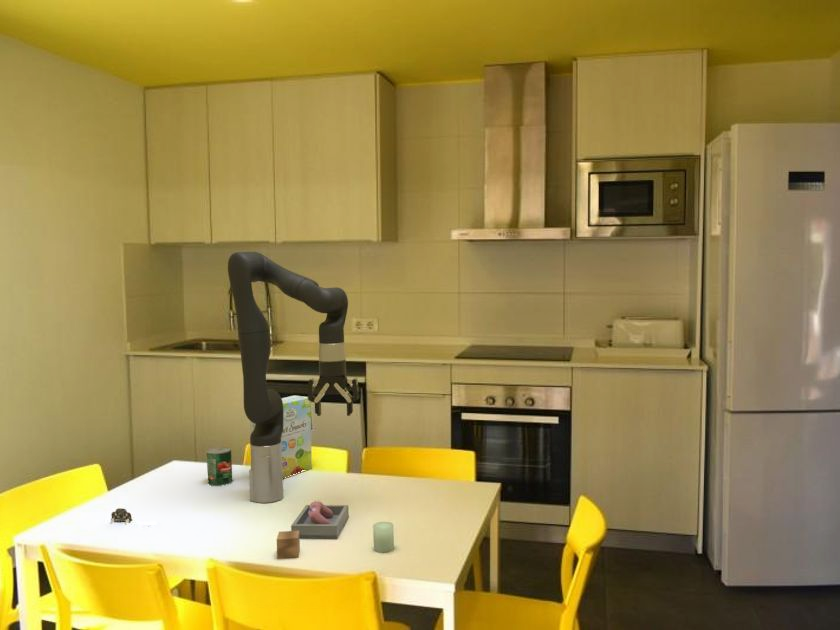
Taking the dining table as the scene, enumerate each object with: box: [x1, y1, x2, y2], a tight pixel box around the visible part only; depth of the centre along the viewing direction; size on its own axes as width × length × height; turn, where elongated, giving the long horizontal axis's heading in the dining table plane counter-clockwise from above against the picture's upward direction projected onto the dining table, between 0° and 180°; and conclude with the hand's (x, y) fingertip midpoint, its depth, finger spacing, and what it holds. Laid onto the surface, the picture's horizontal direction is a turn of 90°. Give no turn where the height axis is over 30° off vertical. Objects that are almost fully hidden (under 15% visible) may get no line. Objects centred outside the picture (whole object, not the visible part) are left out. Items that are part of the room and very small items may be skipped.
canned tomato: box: [206, 446, 233, 487], centre depth 238 cm, size 8×8×11 cm
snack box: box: [249, 395, 313, 479], centre depth 244 cm, size 22×9×26 cm, turn 147°
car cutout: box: [110, 507, 133, 525], centre depth 202 cm, size 15×7×4 cm, turn 79°
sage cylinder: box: [372, 521, 395, 554], centre depth 179 cm, size 5×5×6 cm
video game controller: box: [308, 499, 333, 524], centre depth 195 cm, size 10×5×7 cm, turn 1°
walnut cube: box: [276, 530, 301, 560], centre depth 177 cm, size 5×5×5 cm
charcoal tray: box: [290, 504, 350, 540], centre depth 194 cm, size 12×16×4 cm
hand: (334, 415), depth 204 cm, fingers open, 8 cm apart
